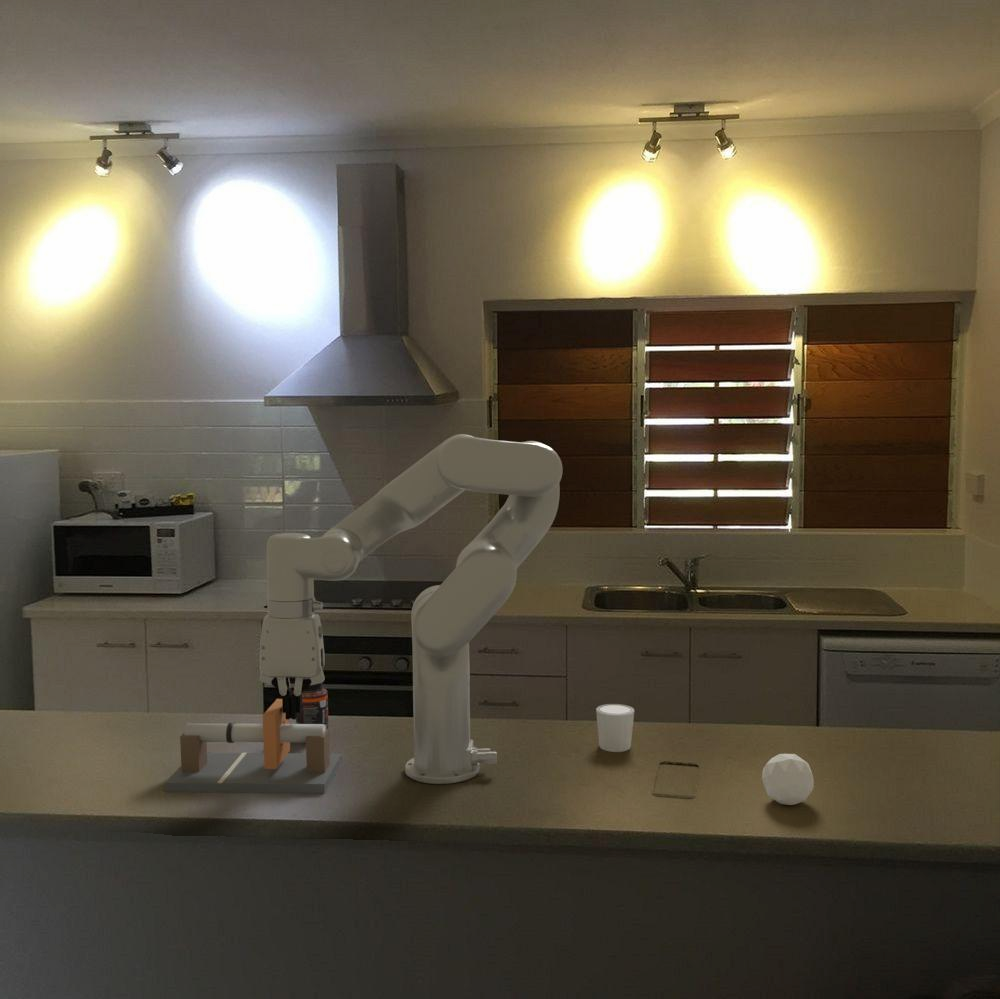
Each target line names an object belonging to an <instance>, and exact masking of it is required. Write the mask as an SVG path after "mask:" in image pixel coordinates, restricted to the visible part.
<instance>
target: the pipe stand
mask: <svg viewBox="0 0 1000 999" xmlns="http://www.w3.org/2000/svg"><path fill="white" fill-rule="evenodd" d="M328 729H329V728H328ZM328 729H325V725H324V724H296V723H289V724H281V725H280V742H290V743H305V752H306V753H293V752H292V753H289V752H288V754H287V755H286V756H285V758H284V759H283V761H282V762H281V763H280V765H279V766H278V768H277V769H264V752H257V753H256V752H251V753H250V752H208V750H207V743H227V744H234V743H264V739H263V723H236V722H229V723H212V722H211V723H207V722H206V723H205V722H204V723H198V722H197V723H196V722H195V723H193V722H192V723H191V722H190V723H188V722H187V723H186V724H185V727H184V732H183V733H181V735H180V736H179V740H180V741H179V742H180V766H179V767H178V768H177V769H176V770H175V772H173V774H171V775H170V776H169V778H168V779H166V781H165V782H164V792H165V793H169V792H171V793H173V792H174V793H267V794H268V793H271V794H273V793H275V794H276V793H278V794H279V793H280V794H281V793H282V794H289V793H290V794H325V793H326V791H327V790H328V788H329V786H330V784H331V783H332V781H333V778H334V777H335V775H336V773H337V772H338V770H339V768H340V766H341V764H342V763H343V762H342V753H330V729H329V730H328Z"/></svg>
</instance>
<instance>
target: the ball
mask: <svg viewBox="0 0 1000 999" xmlns="http://www.w3.org/2000/svg"><path fill="white" fill-rule="evenodd" d="M761 775H762V777H761V779H762V783H763V785H764V789H765V791H766V794H767V796H769V797H770V798H771V799H772V800H774V801H775V802H777V803H779V805H787V806H794V805H797V804H799V803H802V802H805V801H806V799H807V798H808V797H809V795H810V794H811V793H812V792H813V790H814V787H815V786H814V784H815V783H814V782H815V779H814V776H813V772H812V770H811V767H810V764H809V763H808V762H807V761H806V760H804V759H803V758H801V757H800V756H798V755H797V754H795V753H778V754H777V755H776V756H773V757H771V758H770V759H769V760H768V762H766V764H765V765H764V767H763V769H762V774H761Z"/></svg>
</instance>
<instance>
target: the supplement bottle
mask: <svg viewBox="0 0 1000 999" xmlns="http://www.w3.org/2000/svg"><path fill="white" fill-rule="evenodd" d="M328 703H329V698H328V690H327V689H326V688H325V687H324V686H323V682H322V683H319V684H315V685H309V686H308V687H307V688H306V689H305V690H304V691H303V692H302V712H301V713H299V716H298V717H297V718H296V719H295V724H324V725H325V729H328V730H329V731H330V729H329V706H328V705H329V704H328Z"/></svg>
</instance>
